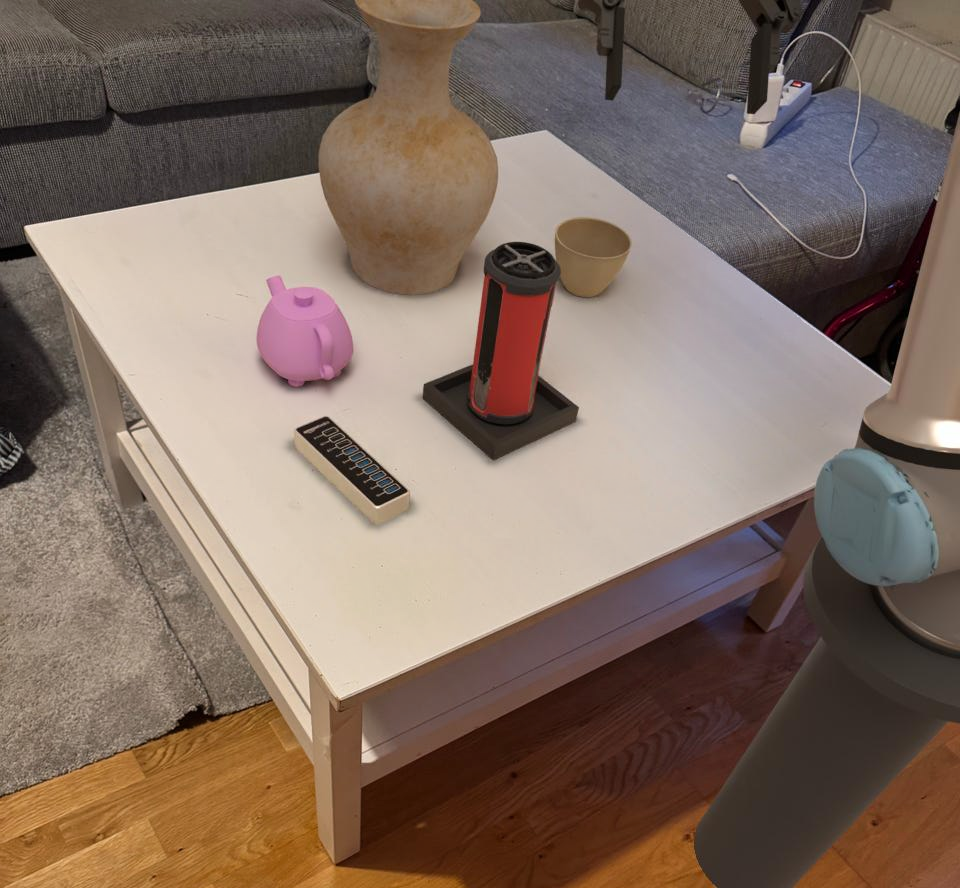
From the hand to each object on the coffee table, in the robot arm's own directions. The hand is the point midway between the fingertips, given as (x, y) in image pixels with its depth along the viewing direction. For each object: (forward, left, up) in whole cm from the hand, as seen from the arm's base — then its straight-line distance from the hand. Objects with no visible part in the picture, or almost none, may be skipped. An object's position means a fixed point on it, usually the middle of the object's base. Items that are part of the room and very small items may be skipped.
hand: (685, 100), depth 83 cm
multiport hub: (+5, +33, -33) cm, 47 cm away
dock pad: (+5, +13, -33) cm, 35 cm away
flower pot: (+19, -14, -33) cm, 41 cm away
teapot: (+24, +27, -33) cm, 49 cm away
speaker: (+5, +13, -32) cm, 35 cm away
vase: (+35, +4, -33) cm, 48 cm away
